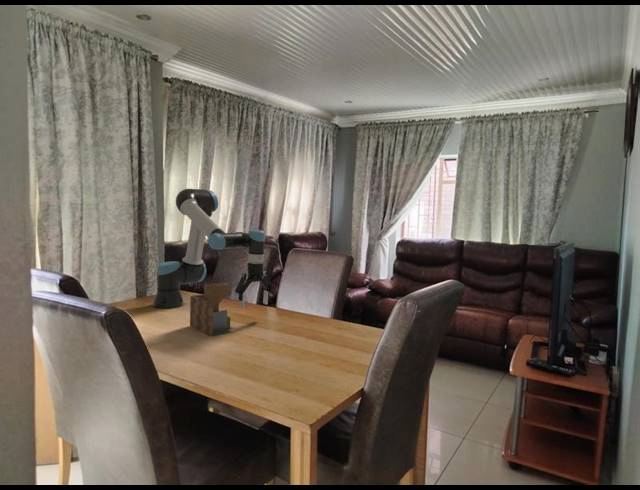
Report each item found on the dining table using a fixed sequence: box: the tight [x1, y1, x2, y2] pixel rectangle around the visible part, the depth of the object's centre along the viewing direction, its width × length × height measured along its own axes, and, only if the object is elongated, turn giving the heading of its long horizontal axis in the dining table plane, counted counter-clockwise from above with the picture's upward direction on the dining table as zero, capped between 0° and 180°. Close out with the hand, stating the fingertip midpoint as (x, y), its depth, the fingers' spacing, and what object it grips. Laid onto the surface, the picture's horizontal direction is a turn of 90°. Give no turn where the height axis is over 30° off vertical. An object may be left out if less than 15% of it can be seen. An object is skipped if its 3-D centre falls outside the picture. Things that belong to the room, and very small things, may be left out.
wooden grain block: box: [189, 293, 214, 337], centre depth 185 cm, size 18×10×14 cm, turn 43°
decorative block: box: [203, 282, 232, 329], centre depth 187 cm, size 11×6×20 cm, turn 119°
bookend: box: [212, 309, 232, 337], centre depth 180 cm, size 5×9×9 cm, turn 133°
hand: (253, 305), depth 201 cm, fingers open, 13 cm apart
